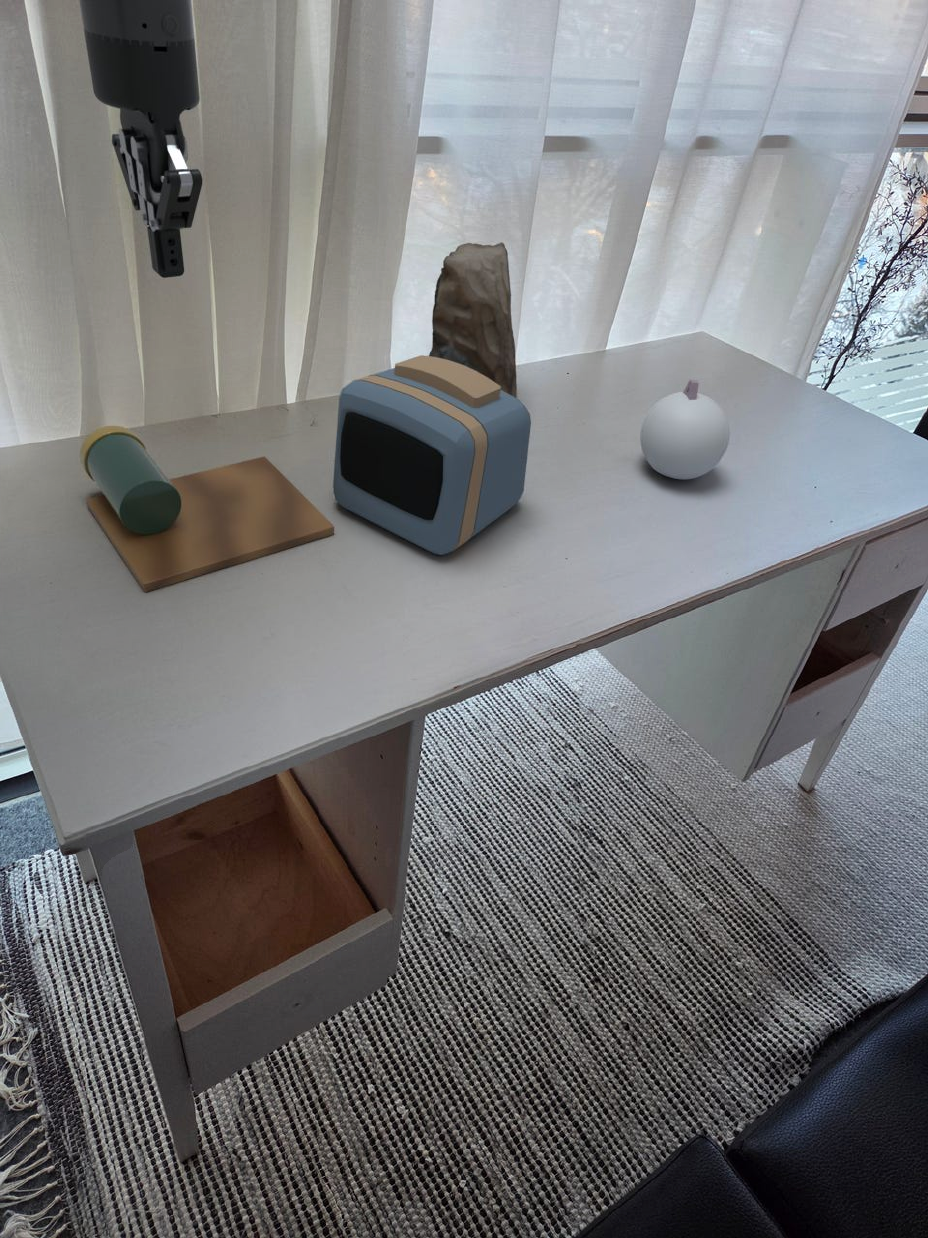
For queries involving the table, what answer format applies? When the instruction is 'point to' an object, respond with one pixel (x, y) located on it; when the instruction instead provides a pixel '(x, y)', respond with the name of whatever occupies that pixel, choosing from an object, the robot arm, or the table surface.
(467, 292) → the jagged brown rock
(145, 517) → the jar
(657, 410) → the ornament
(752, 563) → the table surface
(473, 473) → the alarm clock
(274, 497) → the cork mat
